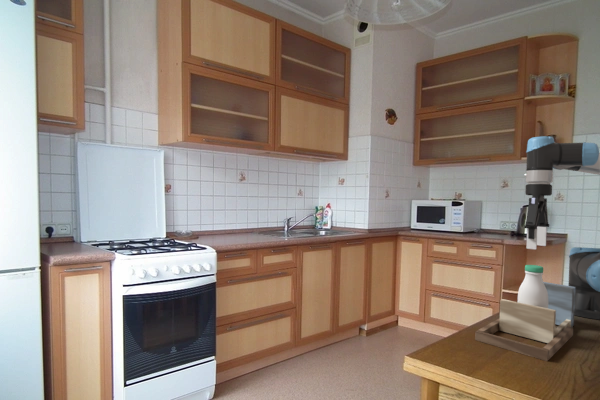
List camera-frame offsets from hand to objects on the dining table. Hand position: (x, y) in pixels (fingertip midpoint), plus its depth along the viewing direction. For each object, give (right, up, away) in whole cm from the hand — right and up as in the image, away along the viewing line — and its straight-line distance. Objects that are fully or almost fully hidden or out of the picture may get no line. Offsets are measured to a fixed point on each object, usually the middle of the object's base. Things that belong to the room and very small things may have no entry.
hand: (536, 247), depth 127 cm
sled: (-7, -23, -11) cm, 26 cm away
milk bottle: (-11, -24, -16) cm, 31 cm away
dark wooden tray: (-16, -23, -20) cm, 34 cm away
